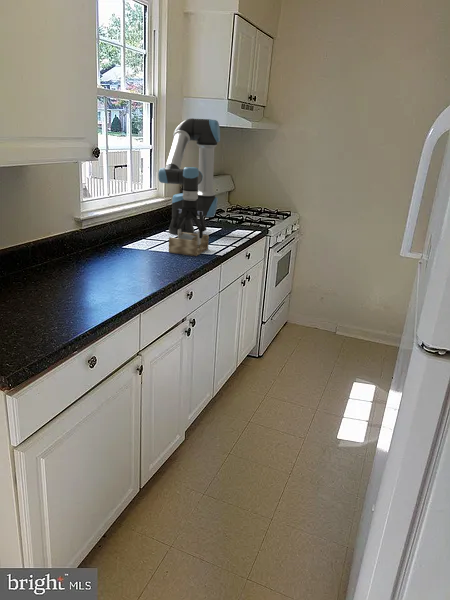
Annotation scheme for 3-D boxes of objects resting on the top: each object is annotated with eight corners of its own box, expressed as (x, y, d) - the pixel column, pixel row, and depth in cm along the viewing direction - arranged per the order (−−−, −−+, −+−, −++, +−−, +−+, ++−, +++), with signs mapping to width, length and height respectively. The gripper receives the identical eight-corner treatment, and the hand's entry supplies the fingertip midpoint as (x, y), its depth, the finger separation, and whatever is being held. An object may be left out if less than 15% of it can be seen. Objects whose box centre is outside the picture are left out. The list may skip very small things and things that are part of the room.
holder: (168, 252, 245) (168, 237, 242) (182, 245, 260) (182, 232, 257) (196, 256, 241) (196, 241, 238) (208, 249, 255) (208, 235, 253)
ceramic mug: (191, 252, 245) (192, 237, 242) (178, 249, 249) (178, 234, 246) (203, 247, 253) (203, 233, 251) (190, 245, 257) (190, 230, 254)
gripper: (166, 198, 241) (165, 241, 249) (208, 202, 235) (207, 247, 242) (172, 196, 248) (171, 239, 255) (214, 200, 241) (212, 244, 249)
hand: (189, 243), depth 249 cm, fingers open, 10 cm apart
